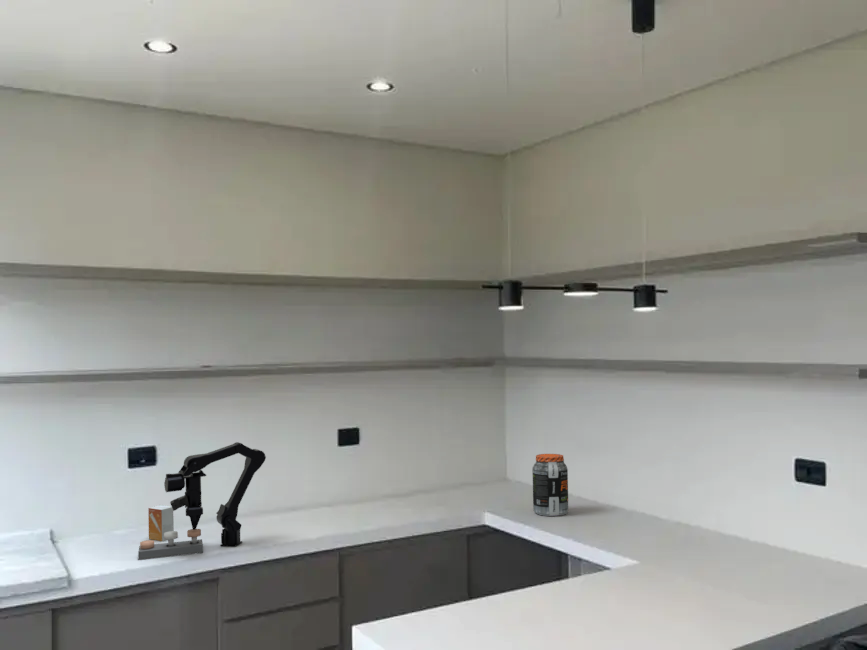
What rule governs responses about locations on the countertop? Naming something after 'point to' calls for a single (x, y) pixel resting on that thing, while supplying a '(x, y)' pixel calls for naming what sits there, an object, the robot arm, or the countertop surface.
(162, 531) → the small box
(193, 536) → the knob
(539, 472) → the supplement tub
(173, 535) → the knob middle
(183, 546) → the knob strip
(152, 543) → the knob
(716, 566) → the countertop surface
